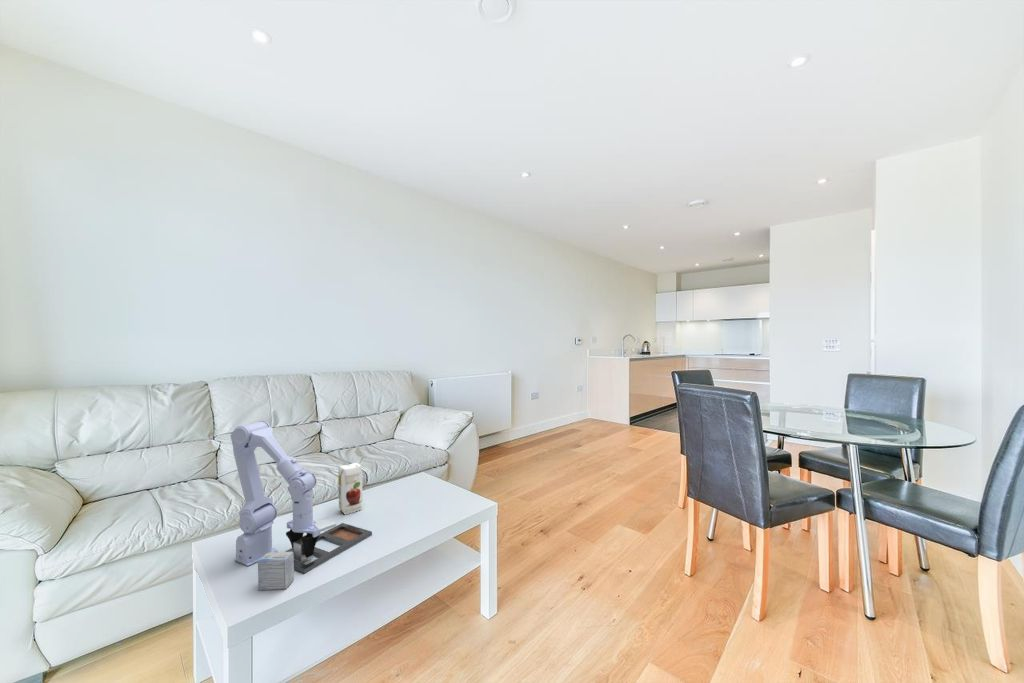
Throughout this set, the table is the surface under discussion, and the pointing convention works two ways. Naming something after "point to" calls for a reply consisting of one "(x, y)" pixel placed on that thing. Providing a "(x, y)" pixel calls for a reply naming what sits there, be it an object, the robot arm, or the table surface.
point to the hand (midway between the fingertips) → (303, 553)
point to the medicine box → (275, 571)
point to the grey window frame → (337, 535)
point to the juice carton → (350, 488)
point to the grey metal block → (300, 552)
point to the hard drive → (323, 524)
